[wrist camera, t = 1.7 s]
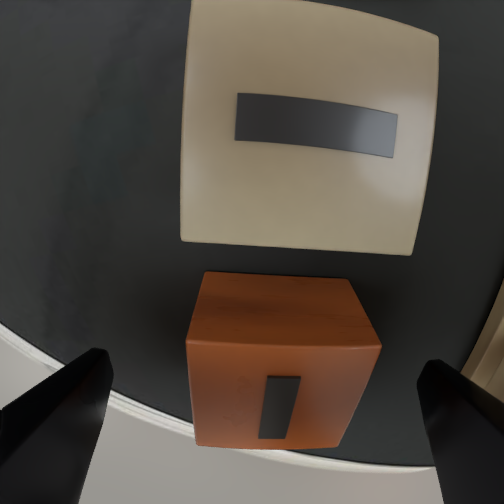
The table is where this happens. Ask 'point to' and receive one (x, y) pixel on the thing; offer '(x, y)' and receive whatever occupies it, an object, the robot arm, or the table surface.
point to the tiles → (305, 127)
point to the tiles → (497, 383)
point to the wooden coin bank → (277, 360)
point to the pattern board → (488, 346)
